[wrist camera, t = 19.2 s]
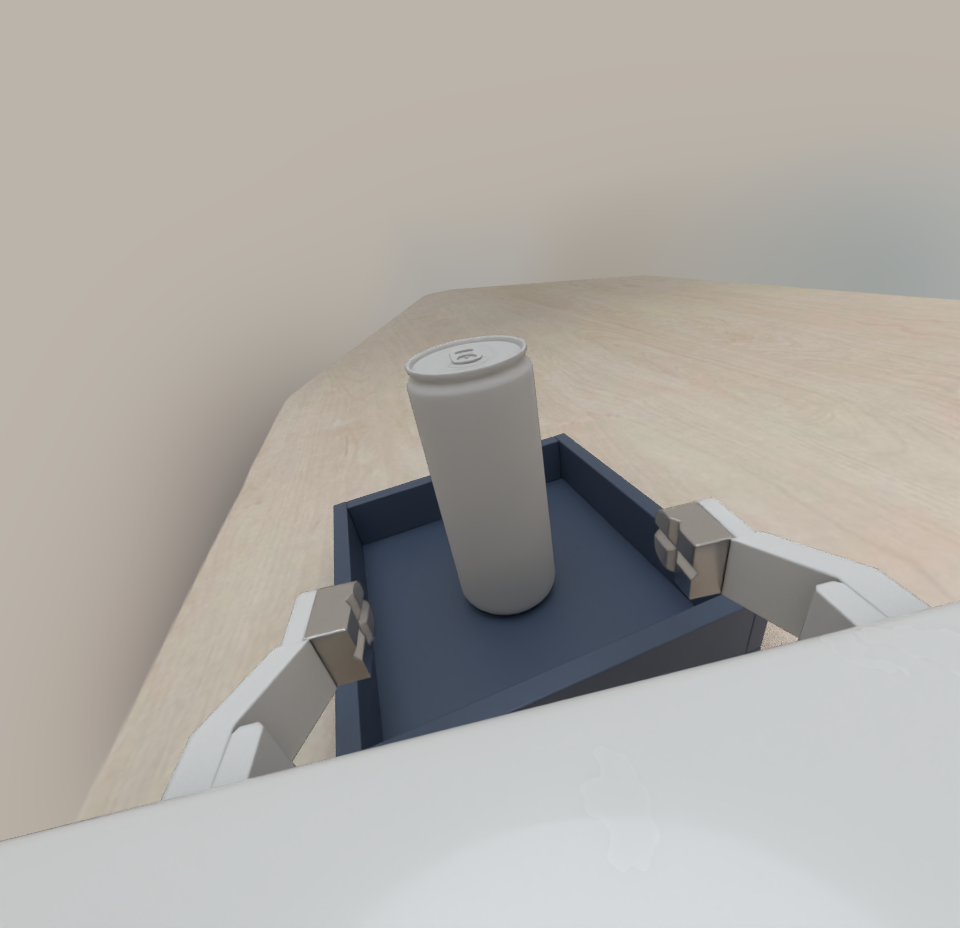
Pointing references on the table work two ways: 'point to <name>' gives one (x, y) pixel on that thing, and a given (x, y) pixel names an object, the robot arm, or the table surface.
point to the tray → (528, 635)
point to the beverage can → (487, 467)
